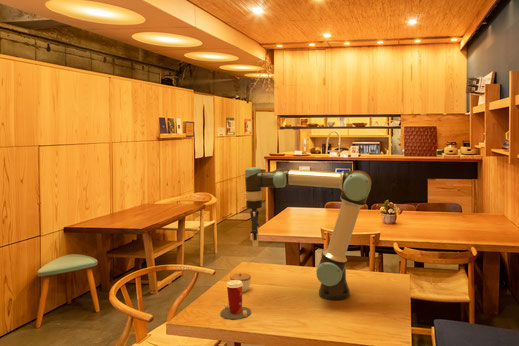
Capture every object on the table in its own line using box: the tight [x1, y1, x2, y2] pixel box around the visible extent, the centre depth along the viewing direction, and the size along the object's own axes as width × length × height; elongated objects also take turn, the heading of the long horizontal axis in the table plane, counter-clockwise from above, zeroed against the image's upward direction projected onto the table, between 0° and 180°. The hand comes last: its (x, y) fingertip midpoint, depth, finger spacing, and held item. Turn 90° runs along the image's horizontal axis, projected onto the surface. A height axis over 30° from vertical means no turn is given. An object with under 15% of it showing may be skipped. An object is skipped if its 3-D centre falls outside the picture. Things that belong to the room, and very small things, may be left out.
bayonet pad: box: [220, 303, 252, 321], centre depth 233 cm, size 14×14×3 cm
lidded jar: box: [229, 272, 252, 294], centre depth 264 cm, size 11×11×9 cm
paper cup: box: [225, 280, 243, 314], centre depth 233 cm, size 8×8×14 cm
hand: (255, 243), depth 246 cm, fingers open, 13 cm apart
